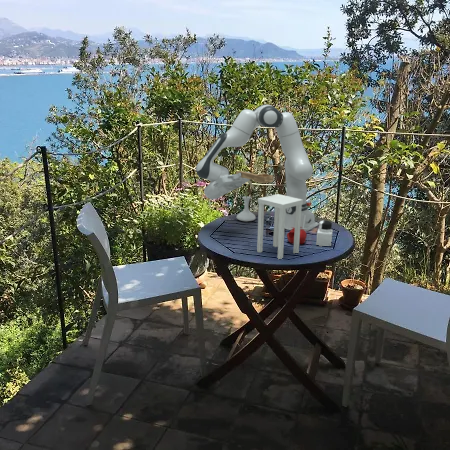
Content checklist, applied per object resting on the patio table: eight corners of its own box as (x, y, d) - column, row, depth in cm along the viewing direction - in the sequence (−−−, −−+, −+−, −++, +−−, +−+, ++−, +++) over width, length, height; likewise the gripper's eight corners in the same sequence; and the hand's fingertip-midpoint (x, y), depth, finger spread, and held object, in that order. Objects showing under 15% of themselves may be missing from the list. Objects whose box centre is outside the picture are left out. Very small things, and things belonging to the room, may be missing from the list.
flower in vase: (254, 223, 260) (256, 180, 252) (235, 222, 261) (235, 179, 254) (256, 217, 272) (258, 176, 265) (238, 216, 274) (238, 175, 266)
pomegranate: (304, 239, 234) (305, 222, 231) (307, 246, 224) (308, 228, 221) (285, 239, 234) (286, 222, 231) (287, 245, 224) (288, 227, 222)
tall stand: (275, 245, 225) (277, 194, 217) (299, 253, 214) (303, 199, 207) (256, 251, 216) (258, 198, 208) (280, 260, 205) (283, 204, 198)
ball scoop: (242, 175, 227) (242, 169, 226) (273, 181, 213) (273, 175, 212) (233, 176, 223) (233, 171, 222) (263, 183, 208) (264, 177, 208)
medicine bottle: (331, 242, 229) (333, 220, 225) (330, 247, 222) (332, 224, 219) (317, 241, 231) (318, 219, 227) (316, 246, 224) (317, 222, 221)
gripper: (209, 180, 225) (226, 170, 215) (238, 175, 239) (255, 165, 228) (213, 192, 224) (230, 182, 214) (242, 186, 238) (260, 177, 228)
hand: (243, 173), depth 221 cm, fingers closed on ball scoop, 2 cm apart
